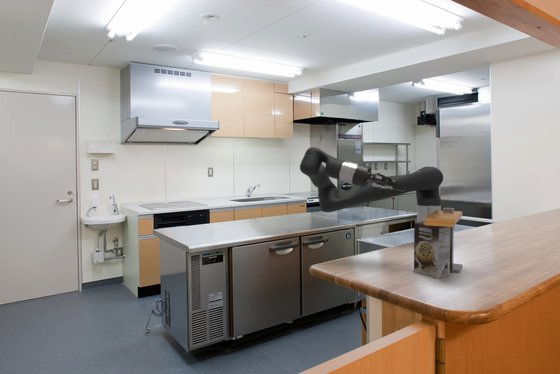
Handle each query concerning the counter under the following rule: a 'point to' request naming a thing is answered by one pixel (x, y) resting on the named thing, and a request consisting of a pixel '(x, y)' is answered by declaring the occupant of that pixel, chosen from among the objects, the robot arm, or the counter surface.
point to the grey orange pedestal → (448, 220)
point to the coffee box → (431, 250)
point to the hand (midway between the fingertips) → (405, 188)
